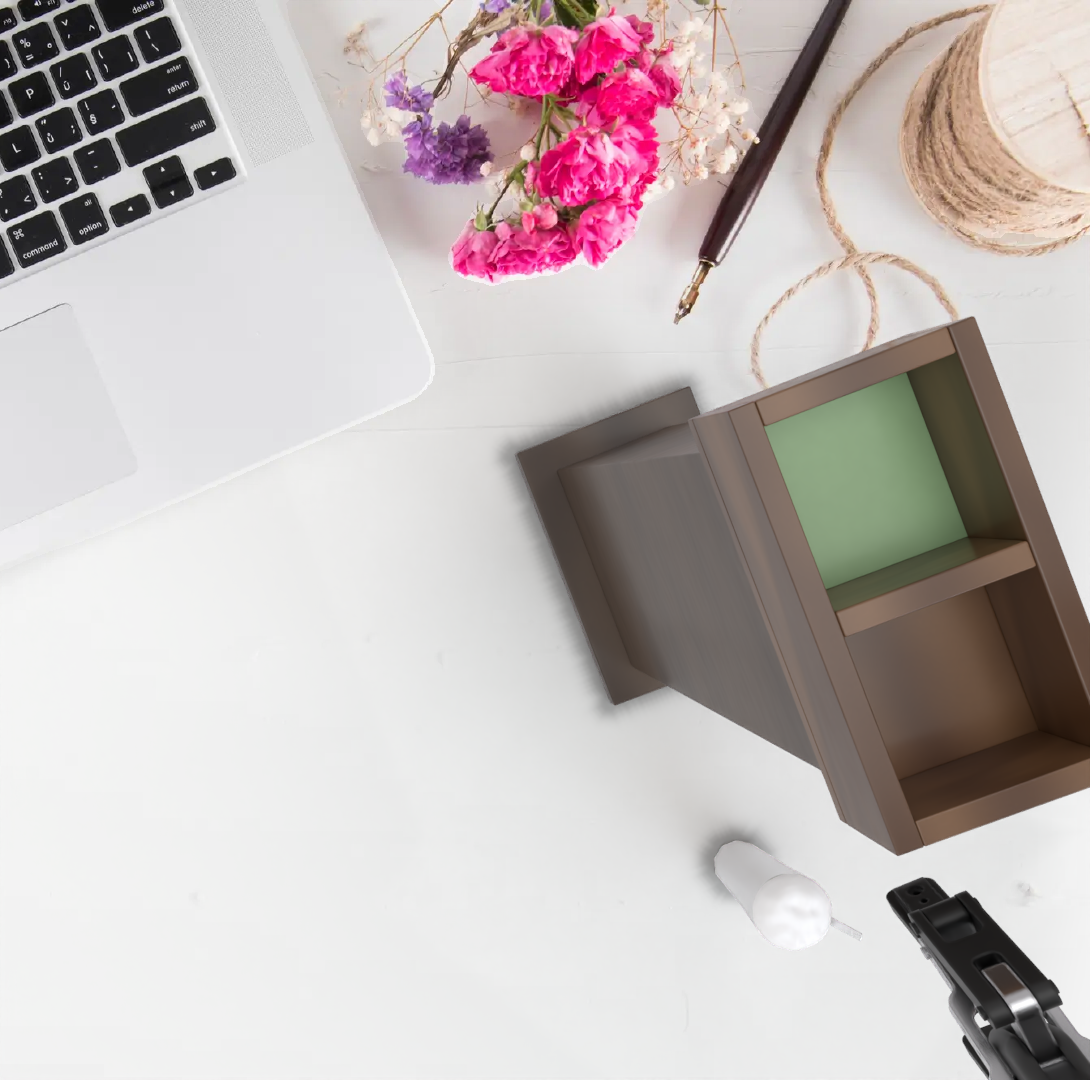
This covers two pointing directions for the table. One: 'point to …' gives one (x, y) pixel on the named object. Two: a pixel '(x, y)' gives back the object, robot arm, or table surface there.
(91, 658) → the table surface
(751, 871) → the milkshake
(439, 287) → the table surface
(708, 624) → the stand
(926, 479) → the box
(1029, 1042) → the robot arm
